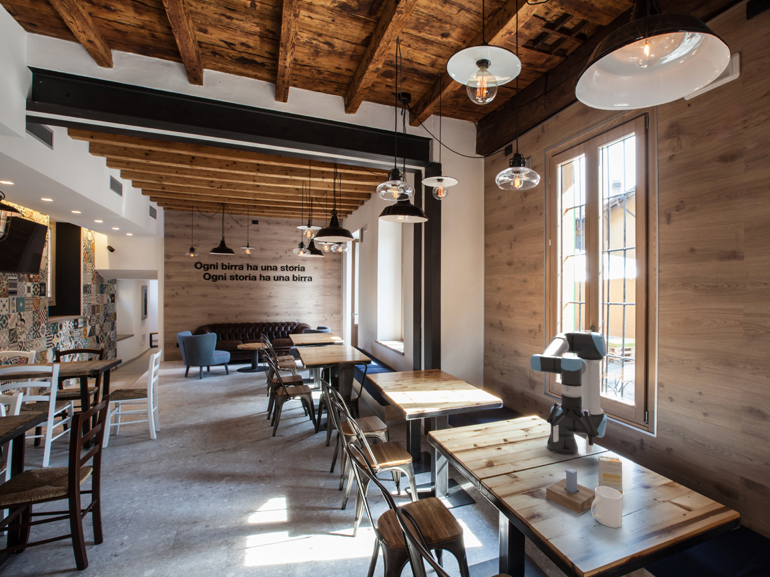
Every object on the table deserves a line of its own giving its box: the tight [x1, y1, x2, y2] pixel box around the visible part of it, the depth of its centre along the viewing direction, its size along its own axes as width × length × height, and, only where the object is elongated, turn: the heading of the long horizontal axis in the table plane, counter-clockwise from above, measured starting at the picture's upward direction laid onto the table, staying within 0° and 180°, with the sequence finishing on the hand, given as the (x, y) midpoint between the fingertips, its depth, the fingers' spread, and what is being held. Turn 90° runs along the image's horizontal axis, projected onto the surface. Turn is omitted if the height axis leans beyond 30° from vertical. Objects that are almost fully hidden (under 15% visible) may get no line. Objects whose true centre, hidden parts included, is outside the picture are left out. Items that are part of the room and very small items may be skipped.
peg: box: [565, 467, 578, 494], centre depth 150 cm, size 3×3×12 cm
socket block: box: [545, 477, 595, 515], centre depth 150 cm, size 14×14×4 cm
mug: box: [590, 485, 623, 529], centre depth 135 cm, size 9×12×11 cm
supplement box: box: [597, 455, 623, 494], centre depth 158 cm, size 8×5×13 cm, turn 71°
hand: (571, 446), depth 150 cm, fingers open, 13 cm apart
